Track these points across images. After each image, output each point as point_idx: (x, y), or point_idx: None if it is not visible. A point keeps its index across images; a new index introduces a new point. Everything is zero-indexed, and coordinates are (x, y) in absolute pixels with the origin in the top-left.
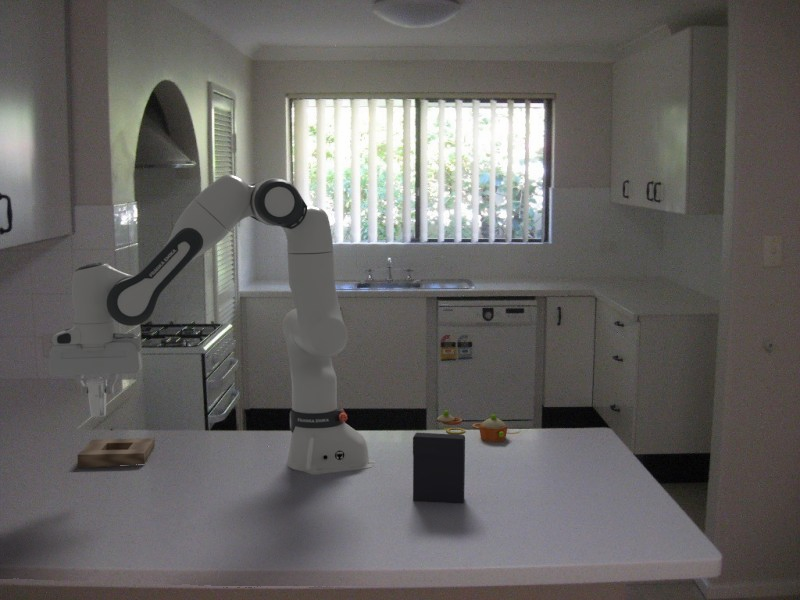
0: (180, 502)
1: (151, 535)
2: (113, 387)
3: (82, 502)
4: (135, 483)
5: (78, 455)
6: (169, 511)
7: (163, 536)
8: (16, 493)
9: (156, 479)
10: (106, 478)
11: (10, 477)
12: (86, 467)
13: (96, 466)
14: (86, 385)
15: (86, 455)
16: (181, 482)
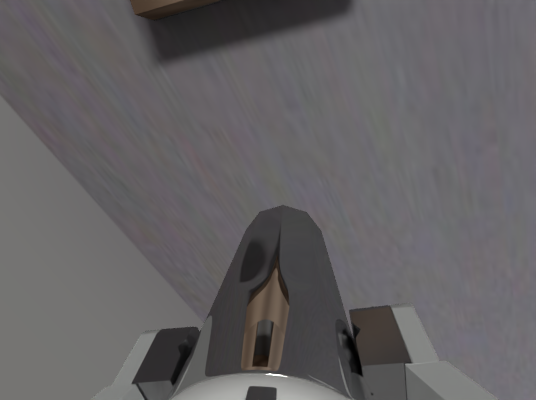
0: (518, 251)
1: (480, 378)
2: (426, 341)
3: None
4: (380, 140)
5: (139, 13)
6: (498, 295)
7: (500, 381)
8: (144, 233)
9: (431, 99)
10: (286, 109)
11: (45, 134)
12: (177, 13)
13: (206, 4)
14: (153, 388)
15: (164, 6)
16: (510, 116)
